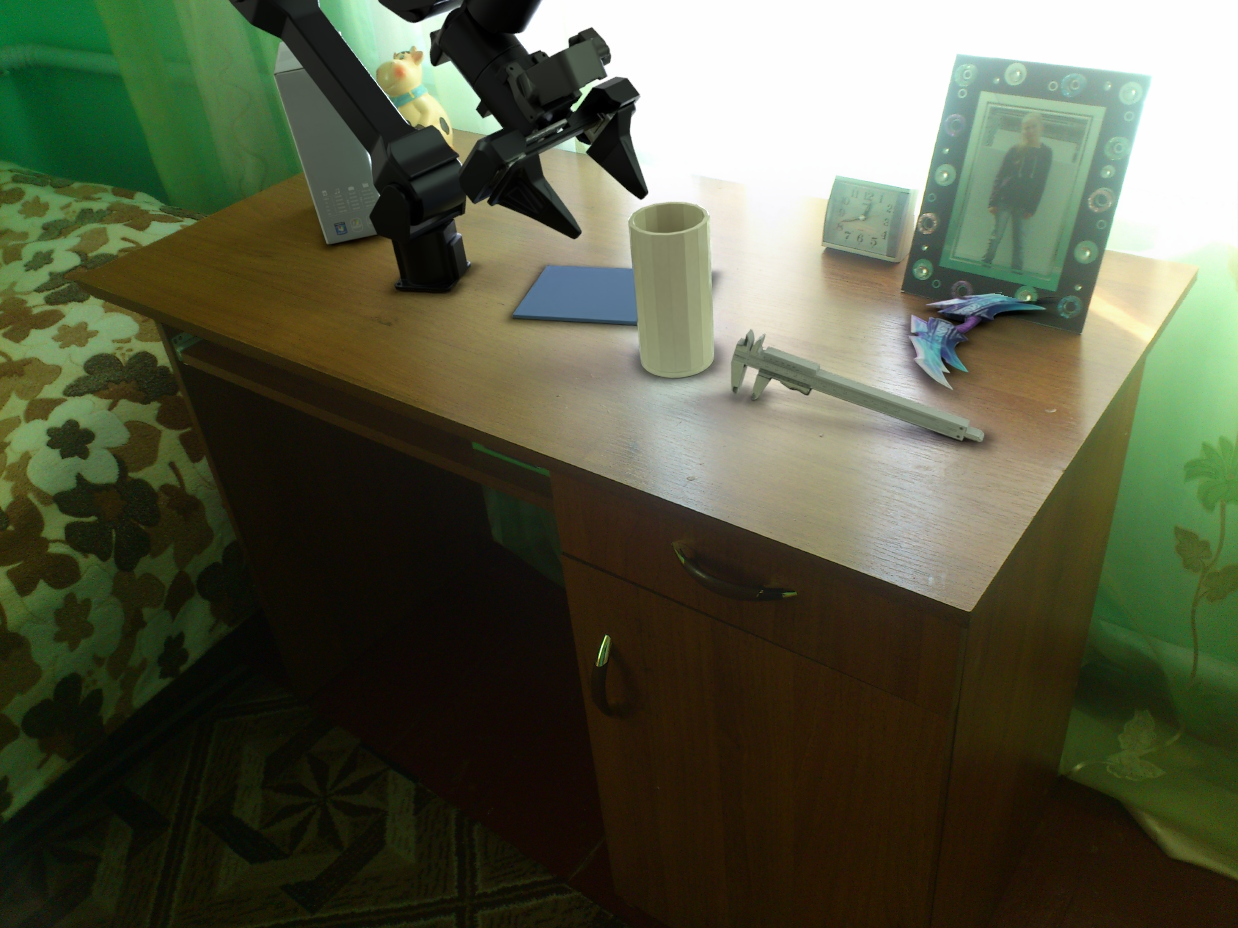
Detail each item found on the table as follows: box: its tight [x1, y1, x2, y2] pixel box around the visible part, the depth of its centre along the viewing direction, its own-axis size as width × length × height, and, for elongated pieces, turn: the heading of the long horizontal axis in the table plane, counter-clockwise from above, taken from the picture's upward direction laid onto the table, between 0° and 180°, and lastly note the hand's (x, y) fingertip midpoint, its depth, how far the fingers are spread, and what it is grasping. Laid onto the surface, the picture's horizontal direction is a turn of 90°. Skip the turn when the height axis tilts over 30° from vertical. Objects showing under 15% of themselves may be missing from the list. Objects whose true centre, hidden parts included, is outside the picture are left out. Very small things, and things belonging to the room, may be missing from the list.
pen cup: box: [627, 201, 715, 379], centre depth 84 cm, size 7×7×14 cm
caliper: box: [730, 328, 985, 443], centre depth 77 cm, size 20×1×6 cm, turn 63°
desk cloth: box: [512, 264, 637, 326], centre depth 99 cm, size 18×11×1 cm, turn 75°
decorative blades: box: [908, 292, 1047, 391], centre depth 88 cm, size 20×1×10 cm
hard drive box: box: [273, 31, 380, 245], centre depth 116 cm, size 16×8×20 cm, turn 14°
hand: (612, 216), depth 84 cm, fingers open, 9 cm apart
